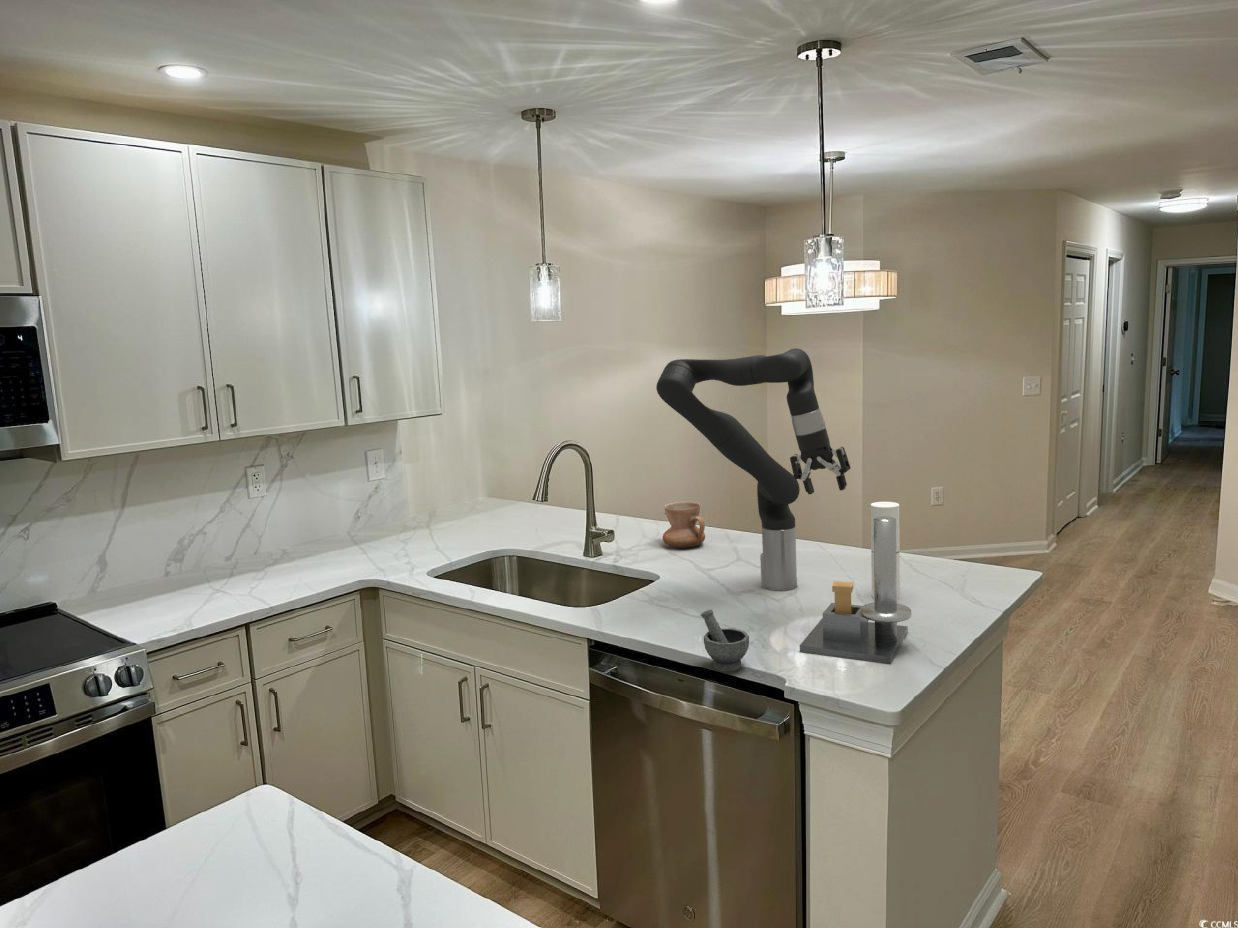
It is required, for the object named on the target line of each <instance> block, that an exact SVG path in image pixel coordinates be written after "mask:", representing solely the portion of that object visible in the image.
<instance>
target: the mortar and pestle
mask: <svg viewBox="0 0 1238 928" xmlns="http://www.w3.org/2000/svg"><path fill="white" fill-rule="evenodd" d="M700 616H701V618H702V619H703V620H704V622H705V625H706V627H707V630H708V631H707V632H706V633H705V634H704V635H703V644H704V649H705V650H706V653H707V654H708V656H709V657H710V658H711V659H712V660H713V662H712V666H713V668H714V670H716V671H720V672H734V671H738V670H740V669H741V667H743V665H742V659H743V658H744V657H745V655H746V653H747V652H748V650H749V647H750V646H749V645H750V635H749V634H748V633H747V632H746V631H744V630H740V629H737V628H728V627H727V628H721V626H720V624H719V622H718V621H717V619H716V617H715V615H714V610H713V609H707V610H704V611H703V612H702V613H701V614H700Z"/></svg>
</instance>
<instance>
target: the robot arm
mask: <svg viewBox="0 0 1238 928" xmlns="http://www.w3.org/2000/svg"><path fill="white" fill-rule="evenodd" d="M813 372H814V371H813V365H812V362H811V359H810V357H809V355H808V354H807V352H806V351H804V350H803V349H801V348H791V349H789V350H787V351H785V352H782V353H779V354H773V355H768V356H767V355H761V354H759V355H751V356H745V357H744V356H743V357H738V358H729V359H727V358H726V359H698V358H697V359H695V358H694V359H691V358H683V359H681V358H680V359H675V360H671V361H669V362H668V363H667V364H666V366H665V367H663V370H662V372H661V374H660V377H659V378H658V380H657V382H656V387H655V389H656V392H657V394H658V396H659V397H660V399H662V401H663V402H664V403H666V404H667V405H668V406H669V407H670V408H672V409H673V410H674V411H675V412H676V413H678V414H679V415H680V416H681V417H683V418H684V419H685V420H686V421H688V422H689V423H690V425H692V426H693V427H694V428H695V429H696V430H697V431H699V432H700V434H702V435H703V436H704V437H705V438H706V439H707V440H708V441H709V442H710V444H712V446H713V447H714V448H715V449H717V450H718V452H719V453H720V454H721V455H723V456H724V457H725V458H727V460H729V461H730V462H731V463H733V464H734V465H735V466H737V467H738V468H740V469H742V470H743V471H745V472H746V473H748V474H749V475H751V476H752V477H753V478H754V479H755V480H756V481H757V486H756V487H757V488H756V493H757V495H756V496H757V506H758V507H757V509H758V516H759V519H760V520H761V536H762V537H761V538H762V540H761V541H762V553H760V584H761V586H760V587H761V588H765V589H766V590H772V591H789V590H793V589H795V588H797V587H798V578H797V577H798V576H797V572H798V571H797V537H796V536H797V535H796V534H797V533H796V529H797V528H796V518H795V515H794V514H793V513H792V510H791V509H790V506H789V505H791V504H793V503H794V502H796V500H797V499H798V498H799V495H800V490H801V489H800V483H799V481H798V480H801V481H802V483H803V486H804V487H803V488H804V491H805V492H806V493H807V494H808V495H813V494H814V493H815V489H814V485H813V481H812V478H811V477H810V476H811V474H812V472H813V471H816V470H819V469H820V470H824V469H828V471H831V472H832V473H833V474H834V475H836V476H835V479H836V481H837V485H838V489H839V491H844V490H845V489H846V487H847V485H848V483H847V480H846V475H845V474H846V473H847V472H848V471H850V469H851V464H850V461H849V459H848V456H847V452H846V449H845V447H844V446H840V447H838V448H835V449H833V448H832V446H831V443H830V438H829V434H828V431H827V427H826V421H825V420H824V417H823V414H822V412H821V408H820V406H819V402H818V398H817V395H816V392H815V382H814V381H815V380H814V373H813ZM706 381H718V382H722V383H725V384H728V385H731V386H733V387H735V386H737V387H739V386H740V387H744V386H754V385H760V384H765V383H766V384H767V383H769V384H771V383H772V384H773V383H774V384H775V383H776V384H777V383H778V384H779V383H787V386H788V391H787V393H786V403H787V406H788V410H789V413H790V416H791V417H790V418H791V423H792V429H793V433H794V435H795V438H796V439H795V440H796V443H797V445H798V449H799V451H800V454H797V453H795V454H793V455H792V456H790V457H789V460H790V465H791V471H792V473H791V471H789V470H787V469H786V468H785V467H783V466H782V464H780V463H779V462H777V461H776V460H775V459H774V458H773V457H772V456H771V455H770V454H769V453H768V452H767V451H766V450H765V449H764V447H763V446H762V445H761V444H760V443H759V442H758V440H756V438H755V437H754V436H753V435H752V434H751V433H750V432H749V431H748V430H747V429H746V427H744V426H743V425H742V423H741V422H739V421H738V419H736V418H735V417H734V416H732V415H730V414H729V413H725V412H723V411H718V410H715V409H713V408H710V407H708V406H707V405H705V404H704V403H703V402H702V401H700V399H699V398H698V397H697V396H696V395H695V394H694V393H693V391H694V389H695V387H696V384H699V383H703V382H706ZM834 456H835V458H837V460H838V461H837V460H835V459H834ZM802 462H803V463H804V464H805V465H804V468H803V470H802V465H801V463H802ZM838 462H839V463H838Z"/></svg>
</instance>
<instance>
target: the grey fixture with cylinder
mask: <svg viewBox="0 0 1238 928" xmlns="http://www.w3.org/2000/svg"><path fill="white" fill-rule="evenodd" d="M897 600H898V599H897V563H896V518H894V517H876V518H874V598H873V601H874V602H869V603H866V604H863V605H859V604H851V607H852V614H845V613H836V612H835V602H831V603H830V604H829V605H828V606H827V608H825V610H824V611H823V612H822V618H821V619H820V620H819V622H818V623H817V624H816V625H815V626H814V628H813V629H812V630H811V631H810V632H809V633H808V635H807V636H806V637H805V638H804V640H802V642H801V643H800V644H799V653H806V654H813V655H814V654H815V655H821V656H822V655H824V656H830V657H836V658H838V657H839V658H845V659H852V660H860V661H869V662H875V663H881V664H890V665H891V664H892V662H893V661H894V658H895V657H896V655H897V653H898V651H899V650H900V648H901V646H902V644H903V642H904V640H905V638H906V637H907V635H908V633H909V632H908V630H909V629H908V627H909V626H907V625H900V624H898V623H900V622H905V621H908V620H909V619H911V618H912V609H911V608H910V607H909V606H907V605H904V604H902V603H898V602H897ZM870 621H871V622H870ZM872 621H873V622H872Z"/></svg>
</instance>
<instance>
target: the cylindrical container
mask: <svg viewBox="0 0 1238 928" xmlns="http://www.w3.org/2000/svg"><path fill="white" fill-rule="evenodd" d="M876 517H894V518H896V563H897V600H899V599H900V598H901V587H900V585H901V580H900V579H901V574H900V572H901V569H900V568H901V565H900V564H901V563H900V562H901V559H900V557H901V556H900V554H901V553H900V551H901V549H900V547H901V546H900V545H901V544H900V504H899V503H898V502H894V501H875V502H872V503H870V538H871V540H870V545H871V546H870V547H871V550H870V552H871V553H870V554H871V555H870V557H871V559H870V560H871V562H870V563H871V597H872V598H873V599H874V518H876Z"/></svg>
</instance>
